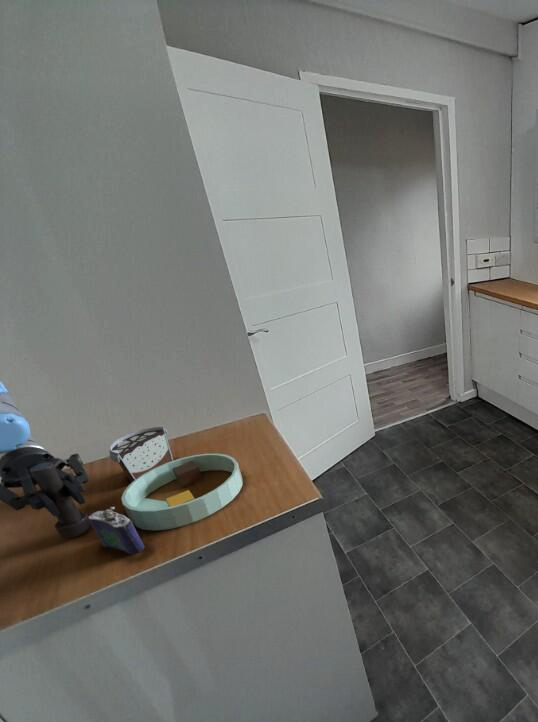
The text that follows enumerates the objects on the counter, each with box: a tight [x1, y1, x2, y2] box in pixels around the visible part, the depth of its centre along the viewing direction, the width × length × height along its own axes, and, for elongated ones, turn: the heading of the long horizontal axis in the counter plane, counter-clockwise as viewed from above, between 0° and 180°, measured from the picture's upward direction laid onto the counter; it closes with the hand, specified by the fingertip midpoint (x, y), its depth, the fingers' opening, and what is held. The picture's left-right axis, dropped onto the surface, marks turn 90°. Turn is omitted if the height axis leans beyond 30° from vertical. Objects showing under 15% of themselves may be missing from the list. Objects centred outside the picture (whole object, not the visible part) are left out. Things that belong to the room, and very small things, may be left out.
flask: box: [88, 506, 145, 555], centre depth 75 cm, size 9×3×11 cm, turn 73°
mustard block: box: [165, 489, 195, 507], centre depth 86 cm, size 4×4×4 cm
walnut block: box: [172, 461, 204, 489], centre depth 96 cm, size 4×4×4 cm
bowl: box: [120, 453, 244, 531], centre depth 91 cm, size 20×20×6 cm
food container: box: [109, 426, 174, 483], centre depth 98 cm, size 12×6×10 cm, turn 172°
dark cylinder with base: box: [30, 462, 93, 539], centre depth 76 cm, size 4×4×15 cm
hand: (67, 503), depth 73 cm, fingers closed on dark cylinder with base, 3 cm apart
